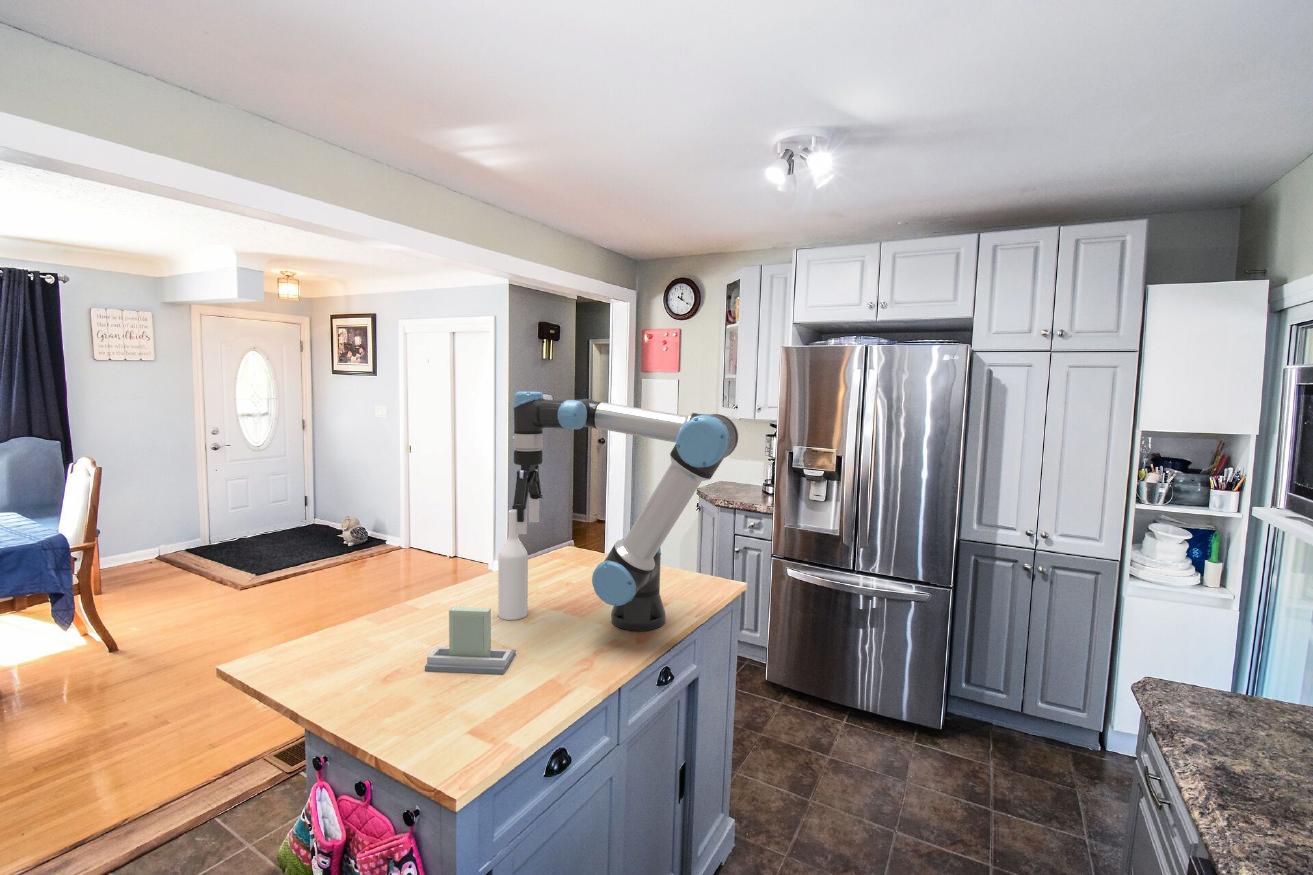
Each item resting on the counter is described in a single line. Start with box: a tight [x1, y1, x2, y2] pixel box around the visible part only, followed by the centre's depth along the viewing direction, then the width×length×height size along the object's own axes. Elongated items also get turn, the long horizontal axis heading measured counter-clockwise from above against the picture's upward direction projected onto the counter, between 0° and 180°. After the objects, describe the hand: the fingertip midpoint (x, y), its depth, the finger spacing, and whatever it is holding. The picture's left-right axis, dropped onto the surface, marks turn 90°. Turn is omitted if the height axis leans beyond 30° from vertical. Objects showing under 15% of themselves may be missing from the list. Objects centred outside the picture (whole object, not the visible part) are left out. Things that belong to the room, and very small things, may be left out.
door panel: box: [448, 606, 492, 658], centre depth 139 cm, size 9×2×12 cm, turn 88°
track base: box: [424, 646, 517, 675], centre depth 140 cm, size 18×10×3 cm, turn 88°
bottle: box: [497, 509, 529, 621], centre depth 169 cm, size 8×8×30 cm
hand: (527, 527), depth 162 cm, fingers open, 13 cm apart
